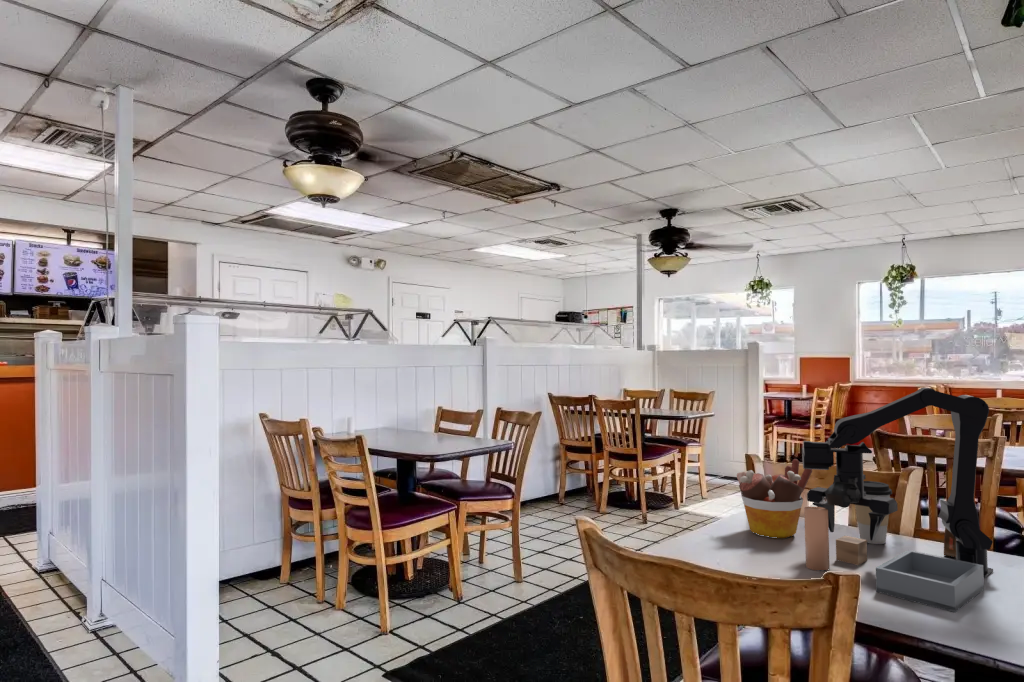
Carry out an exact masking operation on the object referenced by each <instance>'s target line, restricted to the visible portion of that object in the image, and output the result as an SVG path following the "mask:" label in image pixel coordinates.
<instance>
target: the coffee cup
mask: <svg viewBox="0 0 1024 682" xmlns="http://www.w3.org/2000/svg"><path fill="white" fill-rule="evenodd" d="M863 482H864V492H866V496H865V497H864V498H867V499H872V498H875V497H878V496H880V497H887V498H891V495H893V492H892V489H891V488H890V487H889V486H890V485H889V484H888V483H884V482H880V481H871V480H863ZM858 502H859V501H858ZM854 508H855V516H856V521H857V526H858V533H859V539H864V540H867V544H870V545H871V544H872V545H882V544H885V543H886V541H887V531H888V525H889V517H890V514H889V515H886V516H885V517H884V519H883V521H882V522H881V525H880V527H879V529H878V531H877V534H876V536H875V538H874V540H870V516H869V514H868V513H870V512H872V510H871V509H870V508H869V507H867V506H860V505H854Z"/></svg>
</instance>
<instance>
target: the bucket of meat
mask: <svg viewBox="0 0 1024 682" xmlns="http://www.w3.org/2000/svg"><path fill="white" fill-rule="evenodd" d="M799 468H800V461H799V460H798V459H797V458H794V459H792V461H791V465H786V466H785V468H784V474H782V473H781V474H774V475H771V474H767V475H765V476H764V474H762V473H759V472H757V473H755V472H754V471H753V470H752V469H750V470H747V471H741V472H738V473H737V474H736V478H737V482H738V483H739V485H738V487H739V491H740V495H741V498H742V502H743V506H744V507H743V508H744V509H745V515H746V518H747V524H748V527H749V530H750V531H751V532H752V533H753V532H754V533H757V534H759V535H764V536H769V537H777V538H776V539H788V538H791V537H793V536H794V535H795V534H797V530H798V525H799V520H800V516H801V511H802V507H803V503H804V499H803V497H802V493H803V492H804V490H805V488H806V485H808V484H807V483H808V481H809V479H810V477H811V476H812V473H813V469H803V472H802V473H801V475H799V471H800V469H799ZM754 533H753V534H754ZM759 535H758V536H759ZM790 536H791V537H790ZM787 537H788V538H787Z"/></svg>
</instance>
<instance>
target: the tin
mask: <svg viewBox="0 0 1024 682" xmlns="http://www.w3.org/2000/svg"><path fill="white" fill-rule="evenodd" d="M943 536H944V537H943V556H944V555H946V556H945V557H950V556H952V557H951V558H956V541H957V539H956V538H954V536H953V534H952V533H951V532H950V531H949V530H948V529H947V528H946V527H945V526H944V534H943Z"/></svg>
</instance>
